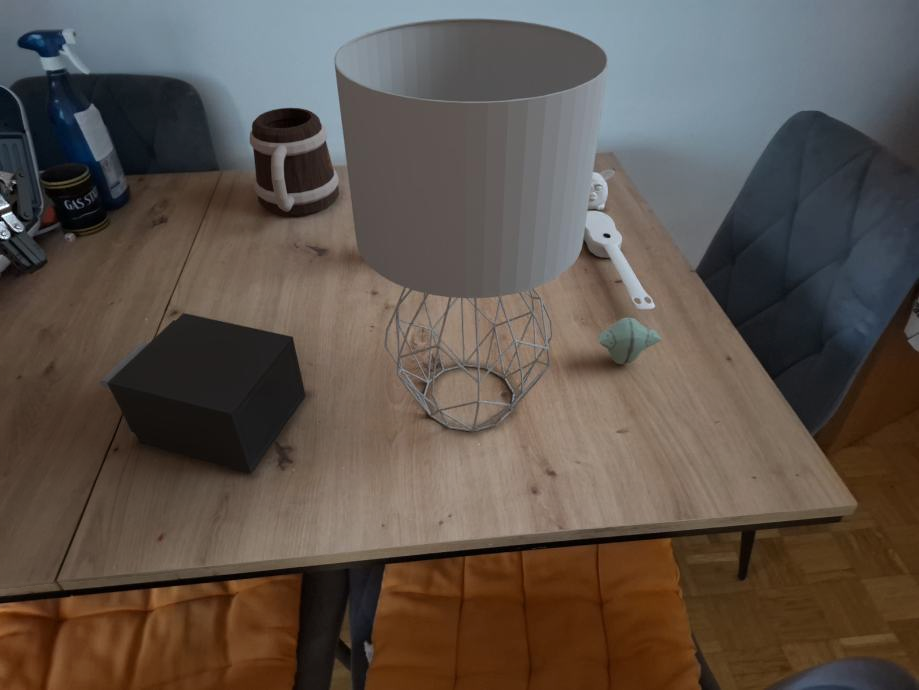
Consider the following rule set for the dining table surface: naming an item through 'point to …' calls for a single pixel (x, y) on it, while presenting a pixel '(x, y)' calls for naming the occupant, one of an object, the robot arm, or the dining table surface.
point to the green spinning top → (627, 340)
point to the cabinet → (212, 391)
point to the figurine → (599, 189)
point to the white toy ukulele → (613, 254)
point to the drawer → (123, 364)
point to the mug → (292, 163)
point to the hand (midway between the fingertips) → (39, 268)
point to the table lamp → (470, 166)
